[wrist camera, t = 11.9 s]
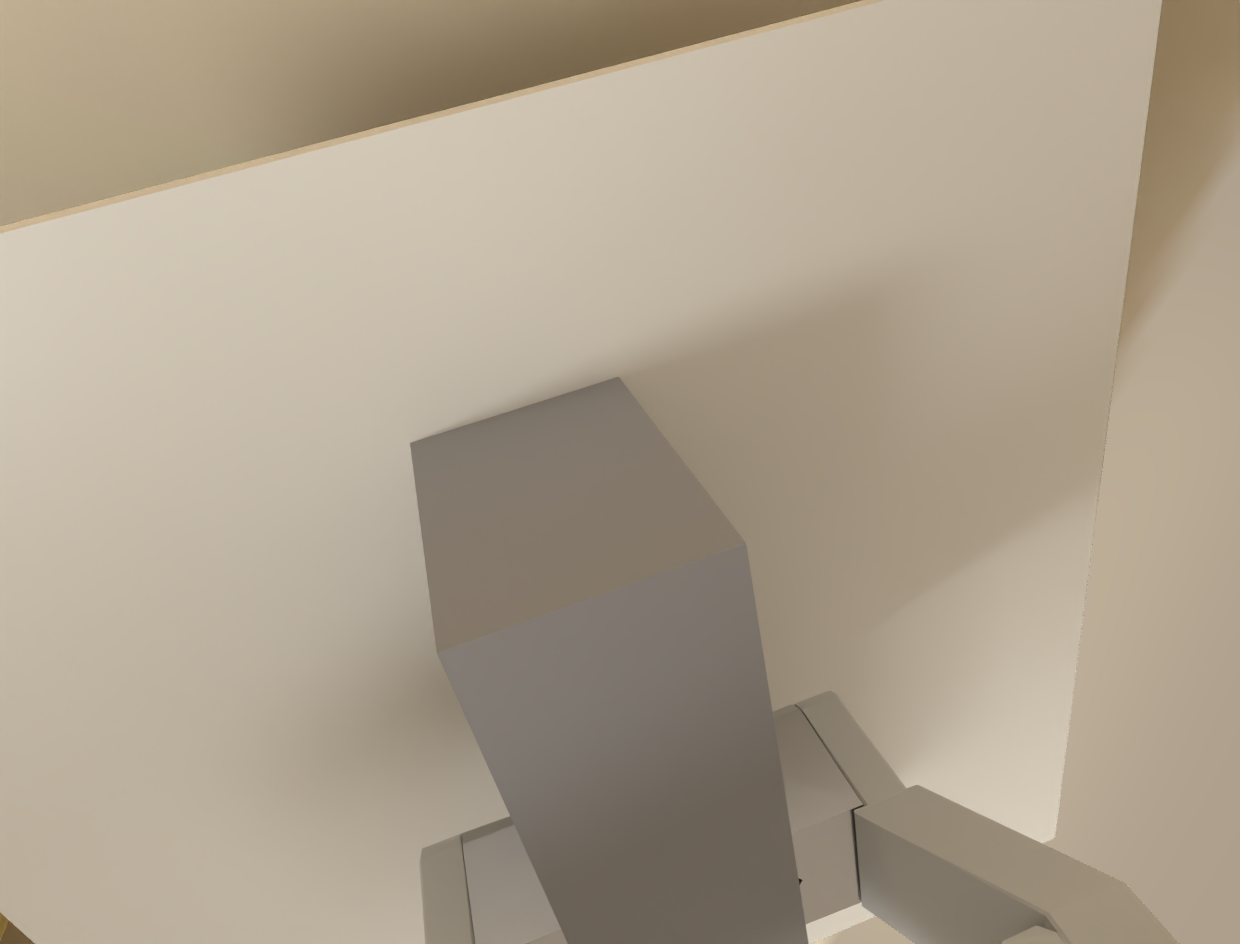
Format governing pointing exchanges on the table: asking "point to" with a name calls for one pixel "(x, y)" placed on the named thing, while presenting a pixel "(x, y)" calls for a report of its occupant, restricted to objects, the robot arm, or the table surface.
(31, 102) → the table surface
